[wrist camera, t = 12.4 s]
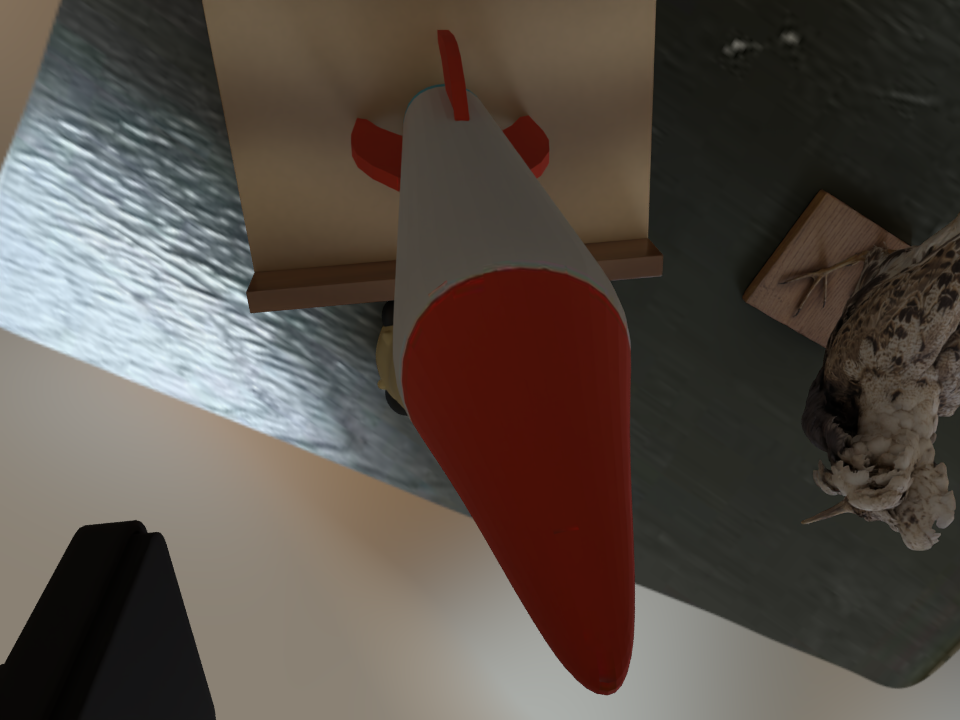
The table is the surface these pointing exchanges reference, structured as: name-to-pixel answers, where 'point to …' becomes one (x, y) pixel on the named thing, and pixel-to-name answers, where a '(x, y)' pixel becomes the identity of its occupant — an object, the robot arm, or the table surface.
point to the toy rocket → (514, 364)
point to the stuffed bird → (873, 359)
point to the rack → (383, 101)
